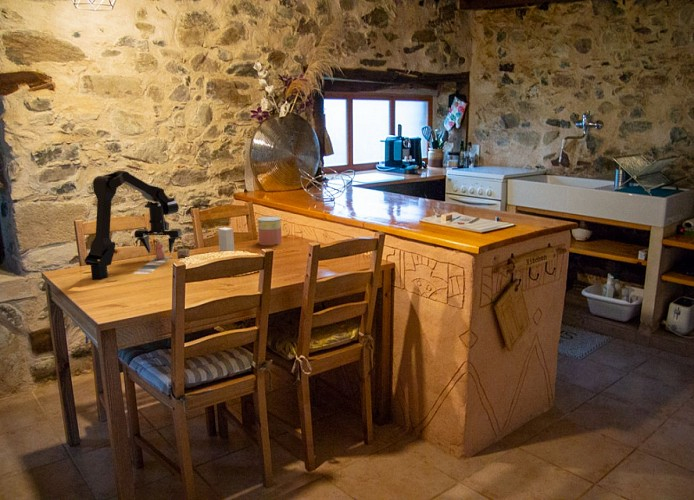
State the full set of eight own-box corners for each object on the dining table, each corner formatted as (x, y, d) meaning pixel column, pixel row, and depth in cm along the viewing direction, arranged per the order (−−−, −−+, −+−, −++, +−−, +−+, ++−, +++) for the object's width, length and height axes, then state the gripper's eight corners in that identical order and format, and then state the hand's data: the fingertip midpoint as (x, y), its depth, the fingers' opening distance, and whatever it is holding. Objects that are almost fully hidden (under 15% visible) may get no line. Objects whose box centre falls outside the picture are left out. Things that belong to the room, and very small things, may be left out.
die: (187, 259, 250) (186, 250, 249) (177, 259, 250) (177, 250, 249) (190, 257, 254) (189, 248, 253) (180, 257, 254) (180, 248, 253)
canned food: (261, 239, 287) (260, 216, 285) (284, 240, 286) (283, 216, 283) (256, 245, 277) (255, 220, 274) (279, 245, 275) (278, 220, 273)
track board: (150, 276, 225) (150, 274, 224) (131, 276, 225) (130, 274, 224) (172, 259, 251) (172, 256, 250) (154, 259, 251) (154, 256, 251)
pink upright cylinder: (163, 259, 245) (161, 243, 243) (155, 260, 245) (153, 243, 243) (165, 257, 248) (164, 241, 247) (157, 258, 249) (156, 241, 247)
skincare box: (235, 254, 258) (233, 228, 255) (227, 256, 255) (225, 230, 252) (227, 252, 262) (225, 227, 259) (219, 254, 259) (217, 228, 256)
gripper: (184, 213, 250) (187, 248, 254) (142, 213, 250) (145, 248, 254) (176, 218, 239) (179, 254, 243) (132, 218, 240) (135, 254, 243)
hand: (159, 252), depth 246 cm, fingers open, 9 cm apart
